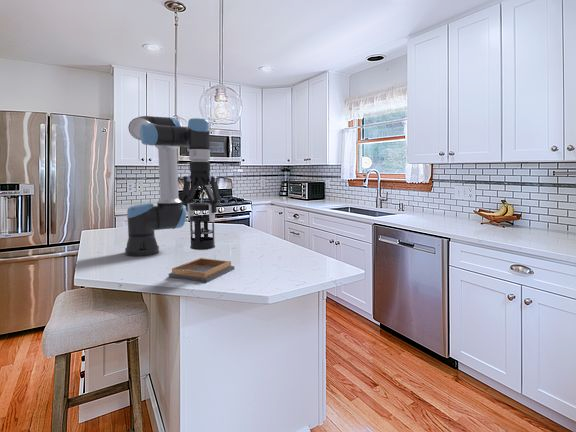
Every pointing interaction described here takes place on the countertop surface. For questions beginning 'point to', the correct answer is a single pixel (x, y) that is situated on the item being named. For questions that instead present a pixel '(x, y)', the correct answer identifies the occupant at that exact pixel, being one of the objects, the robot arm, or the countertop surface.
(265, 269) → the countertop surface
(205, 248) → the french press
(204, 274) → the rectangular wooden frame
